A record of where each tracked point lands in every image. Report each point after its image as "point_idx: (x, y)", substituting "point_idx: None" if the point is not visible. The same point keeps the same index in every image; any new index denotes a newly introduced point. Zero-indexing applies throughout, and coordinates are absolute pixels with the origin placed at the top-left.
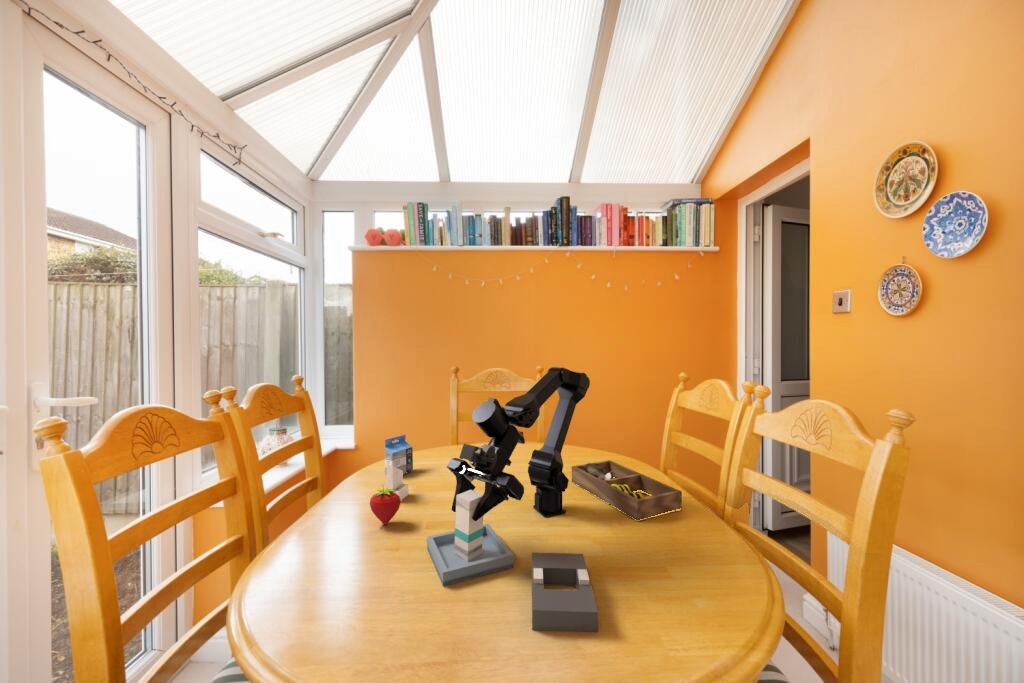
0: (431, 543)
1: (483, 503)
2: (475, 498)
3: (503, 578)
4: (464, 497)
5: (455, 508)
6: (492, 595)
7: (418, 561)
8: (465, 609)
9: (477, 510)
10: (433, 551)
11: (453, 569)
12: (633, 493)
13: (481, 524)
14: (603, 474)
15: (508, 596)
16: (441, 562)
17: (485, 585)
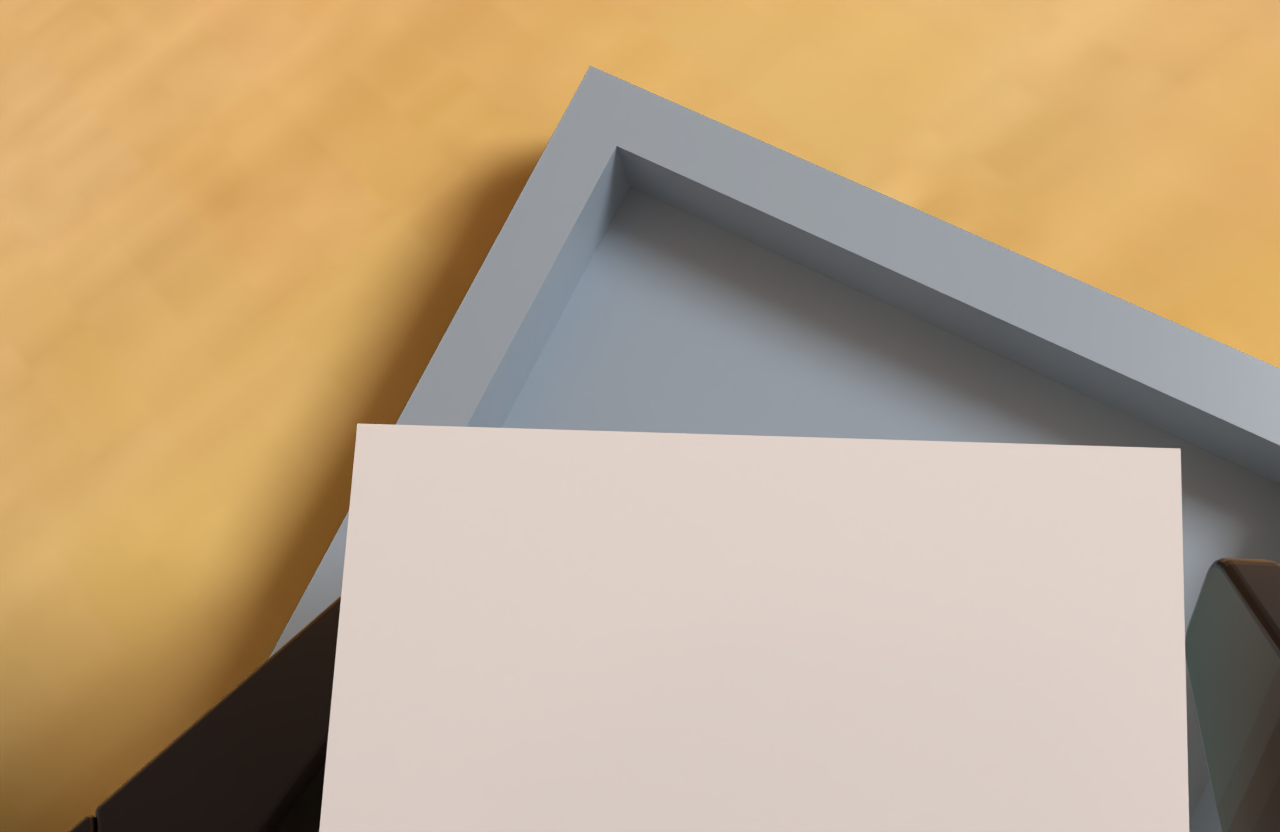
0: (1259, 380)
1: (87, 823)
2: (354, 774)
3: (207, 616)
4: (748, 536)
5: (1219, 659)
6: (146, 346)
7: (1202, 234)
8: (228, 69)
9: (311, 641)
10: (1058, 273)
11: (541, 179)
12: None
13: None
14: None
15: (19, 430)
16: (762, 177)
17: (288, 412)
